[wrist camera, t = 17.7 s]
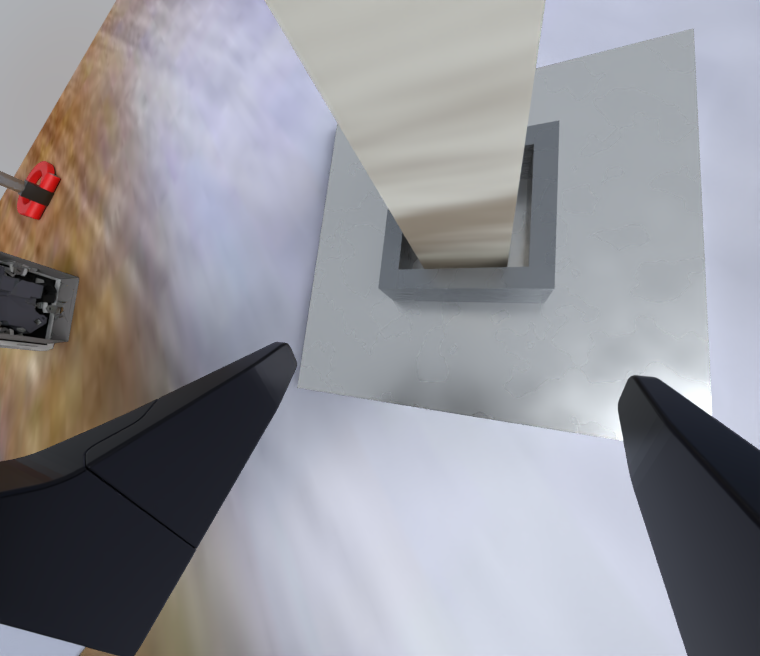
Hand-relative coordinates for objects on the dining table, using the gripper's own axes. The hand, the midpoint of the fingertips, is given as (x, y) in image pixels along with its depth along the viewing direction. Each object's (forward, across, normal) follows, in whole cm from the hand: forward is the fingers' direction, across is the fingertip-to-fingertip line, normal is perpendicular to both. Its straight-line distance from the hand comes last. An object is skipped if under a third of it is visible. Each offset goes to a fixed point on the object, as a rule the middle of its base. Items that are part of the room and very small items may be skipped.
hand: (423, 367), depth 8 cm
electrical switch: (+8, +44, +5) cm, 45 cm away
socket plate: (+12, 0, +1) cm, 12 cm away
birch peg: (+11, 0, 0) cm, 11 cm away
